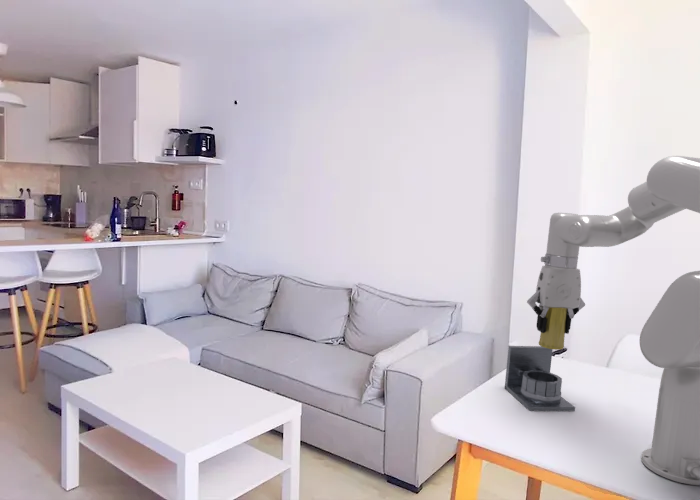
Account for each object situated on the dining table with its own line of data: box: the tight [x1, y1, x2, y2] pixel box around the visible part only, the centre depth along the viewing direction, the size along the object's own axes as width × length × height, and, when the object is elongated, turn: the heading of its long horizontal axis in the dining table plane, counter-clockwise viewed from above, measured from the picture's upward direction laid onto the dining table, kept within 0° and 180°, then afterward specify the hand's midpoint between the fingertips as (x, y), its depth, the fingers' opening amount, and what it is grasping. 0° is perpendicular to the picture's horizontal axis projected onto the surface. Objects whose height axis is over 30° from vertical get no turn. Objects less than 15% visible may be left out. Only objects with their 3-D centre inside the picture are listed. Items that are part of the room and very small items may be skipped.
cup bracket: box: [504, 345, 576, 412], centre depth 140 cm, size 15×12×12 cm
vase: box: [538, 308, 567, 351], centre depth 136 cm, size 6×6×14 cm
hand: (552, 331), depth 136 cm, fingers closed on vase, 5 cm apart
